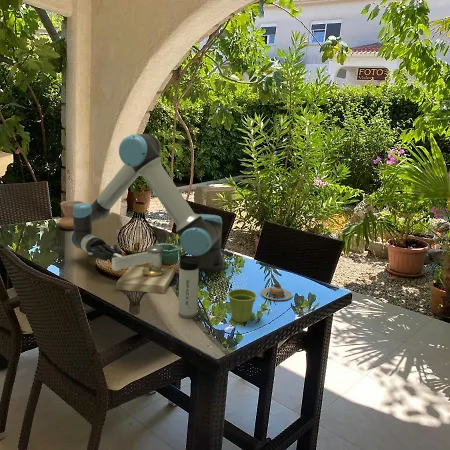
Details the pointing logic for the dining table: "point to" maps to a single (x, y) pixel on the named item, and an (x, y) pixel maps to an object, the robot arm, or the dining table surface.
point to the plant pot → (241, 304)
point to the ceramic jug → (68, 214)
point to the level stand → (145, 281)
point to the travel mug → (188, 286)
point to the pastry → (276, 292)
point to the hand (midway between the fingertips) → (123, 261)
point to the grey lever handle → (142, 261)
